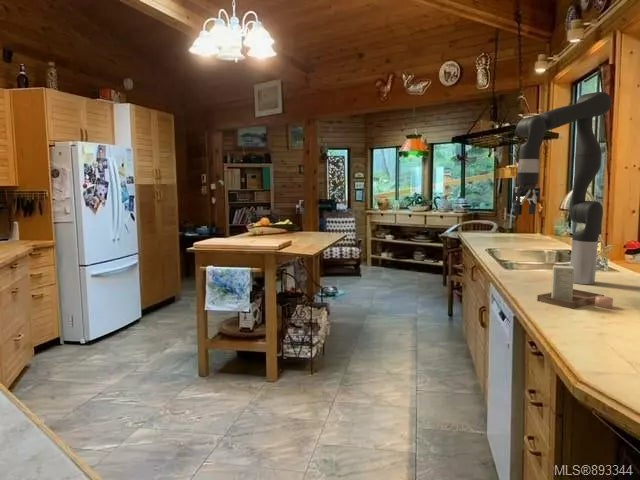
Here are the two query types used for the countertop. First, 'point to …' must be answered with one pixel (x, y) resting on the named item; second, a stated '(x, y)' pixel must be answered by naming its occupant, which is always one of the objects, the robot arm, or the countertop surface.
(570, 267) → the skincare box
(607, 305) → the pinkish brown rounded piece
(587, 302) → the walnut organizer
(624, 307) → the countertop surface
